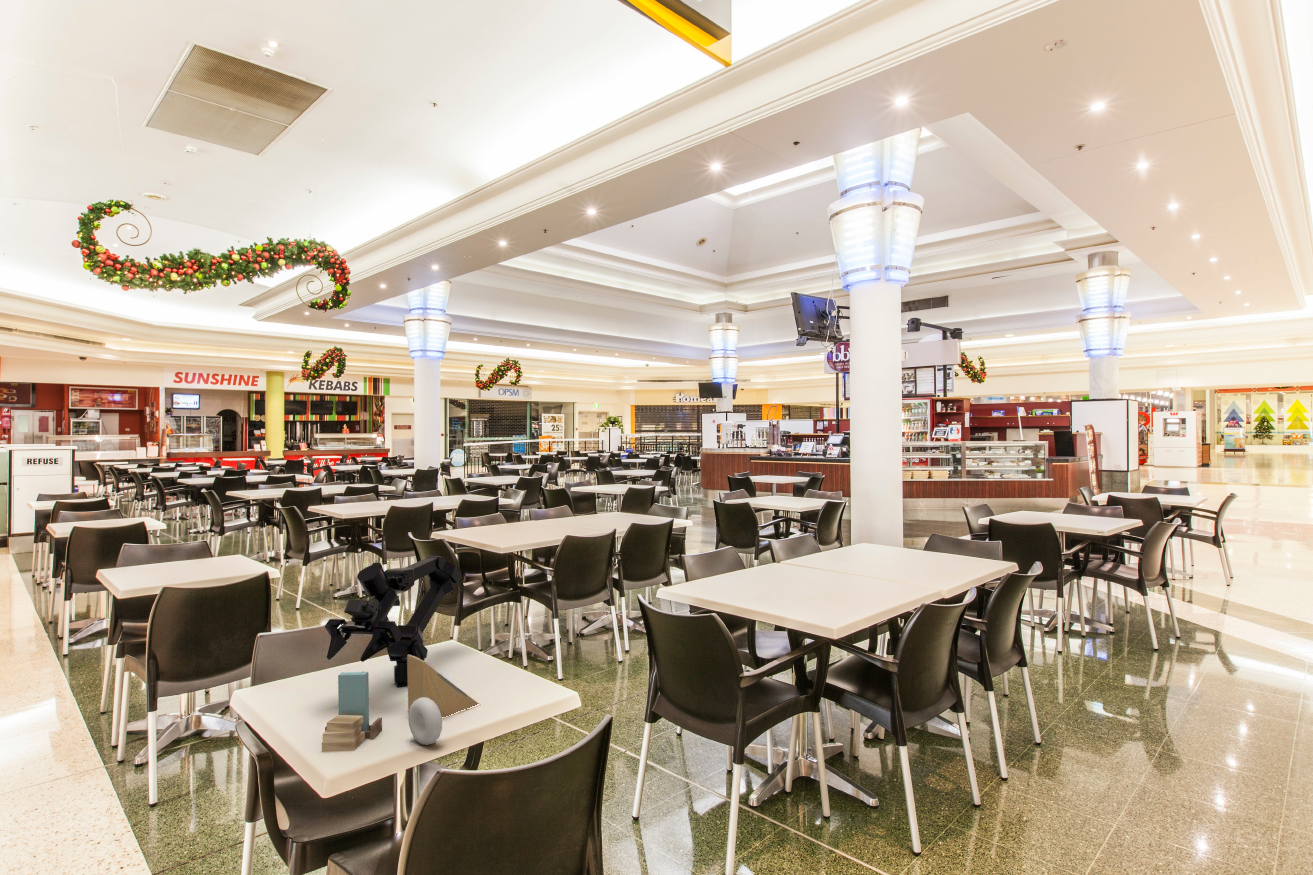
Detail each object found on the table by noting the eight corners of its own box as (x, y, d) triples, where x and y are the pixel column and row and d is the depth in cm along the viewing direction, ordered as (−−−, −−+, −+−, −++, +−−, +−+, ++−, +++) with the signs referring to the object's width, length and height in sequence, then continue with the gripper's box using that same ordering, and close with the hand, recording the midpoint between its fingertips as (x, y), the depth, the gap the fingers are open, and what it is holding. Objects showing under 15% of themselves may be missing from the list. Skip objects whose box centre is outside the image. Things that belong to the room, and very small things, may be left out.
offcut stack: (333, 741, 141) (332, 714, 141) (365, 740, 141) (365, 714, 141) (320, 752, 136) (320, 725, 136) (354, 751, 136) (353, 724, 136)
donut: (405, 740, 140) (404, 695, 140) (419, 734, 143) (418, 690, 143) (432, 752, 134) (431, 705, 134) (446, 746, 137) (445, 700, 137)
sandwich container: (482, 705, 159) (481, 645, 160) (424, 725, 148) (423, 661, 148) (464, 696, 165) (463, 639, 165) (407, 715, 154) (406, 653, 154)
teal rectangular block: (342, 734, 144) (342, 672, 144) (369, 733, 144) (368, 671, 144) (338, 737, 142) (338, 675, 142) (365, 736, 142) (364, 674, 143)
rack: (334, 731, 145) (334, 718, 145) (382, 730, 145) (382, 717, 146) (325, 740, 141) (325, 727, 141) (373, 739, 141) (373, 725, 141)
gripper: (333, 585, 162) (295, 636, 149) (398, 587, 158) (365, 639, 145) (351, 614, 168) (316, 665, 155) (414, 617, 164) (383, 669, 151)
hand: (344, 659), depth 152 cm, fingers open, 9 cm apart
